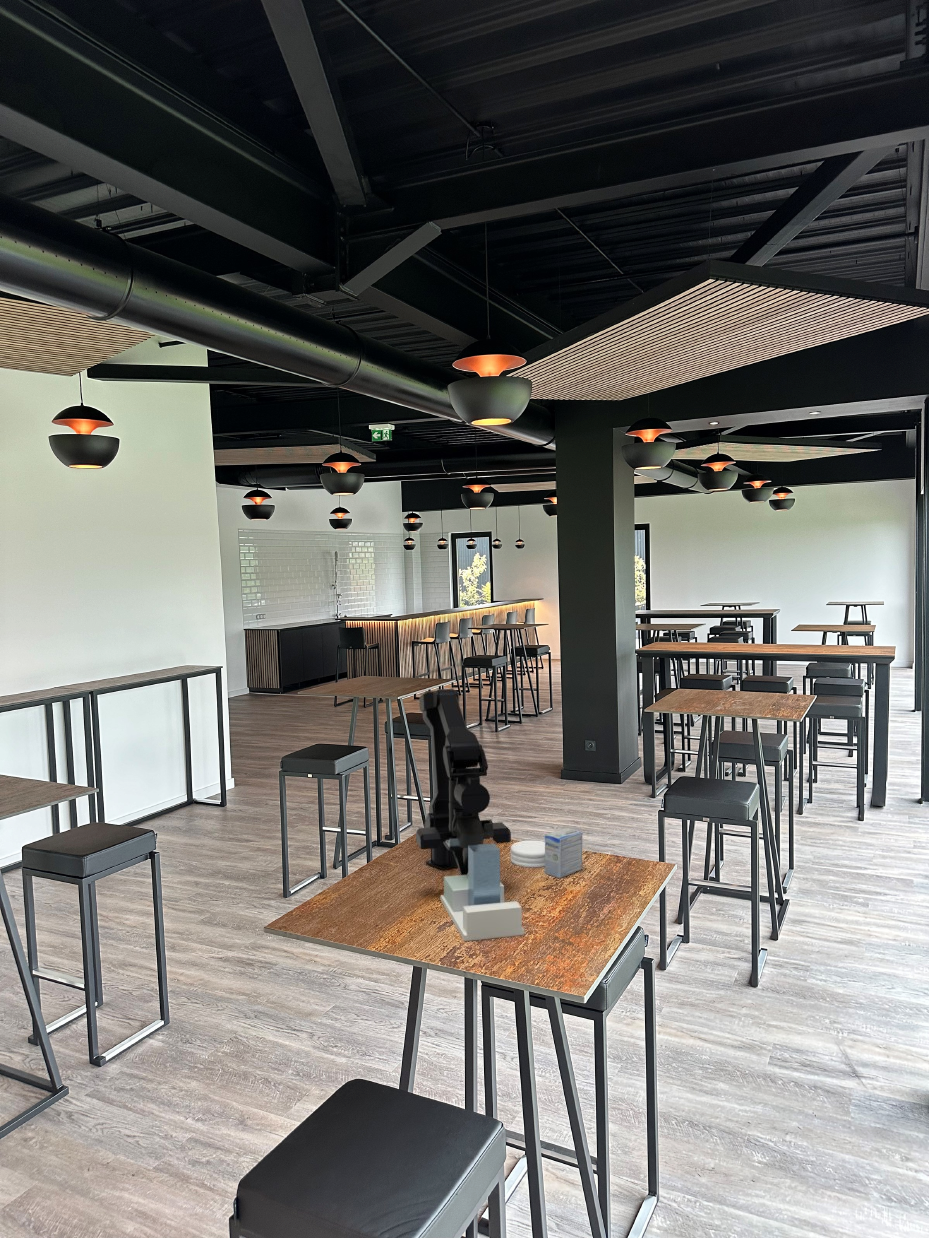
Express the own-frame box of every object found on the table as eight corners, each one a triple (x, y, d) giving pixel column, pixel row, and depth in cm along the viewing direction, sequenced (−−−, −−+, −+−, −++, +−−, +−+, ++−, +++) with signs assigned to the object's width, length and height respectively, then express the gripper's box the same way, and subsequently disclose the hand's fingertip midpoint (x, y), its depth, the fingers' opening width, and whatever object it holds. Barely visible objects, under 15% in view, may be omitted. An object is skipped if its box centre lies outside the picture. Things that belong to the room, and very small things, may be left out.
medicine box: (567, 865, 183) (566, 827, 183) (583, 870, 180) (582, 831, 180) (544, 874, 178) (544, 834, 178) (560, 879, 175) (560, 838, 174)
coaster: (506, 866, 184) (506, 851, 183) (515, 853, 193) (515, 838, 193) (550, 870, 181) (550, 854, 181) (557, 856, 190) (557, 841, 190)
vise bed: (440, 899, 163) (440, 875, 163) (493, 894, 166) (493, 870, 165) (464, 941, 143) (464, 912, 143) (524, 934, 146) (524, 906, 146)
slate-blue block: (468, 914, 153) (468, 845, 153) (494, 911, 154) (494, 843, 154) (473, 922, 149) (473, 851, 149) (500, 920, 150) (500, 849, 150)
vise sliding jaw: (444, 896, 162) (443, 876, 162) (492, 891, 164) (492, 872, 164) (453, 911, 154) (453, 890, 154) (504, 906, 157) (504, 885, 156)
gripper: (425, 814, 157) (426, 895, 157) (519, 807, 161) (519, 886, 162) (415, 800, 168) (415, 876, 168) (503, 794, 172) (503, 868, 172)
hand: (463, 877), depth 167 cm, fingers closed
